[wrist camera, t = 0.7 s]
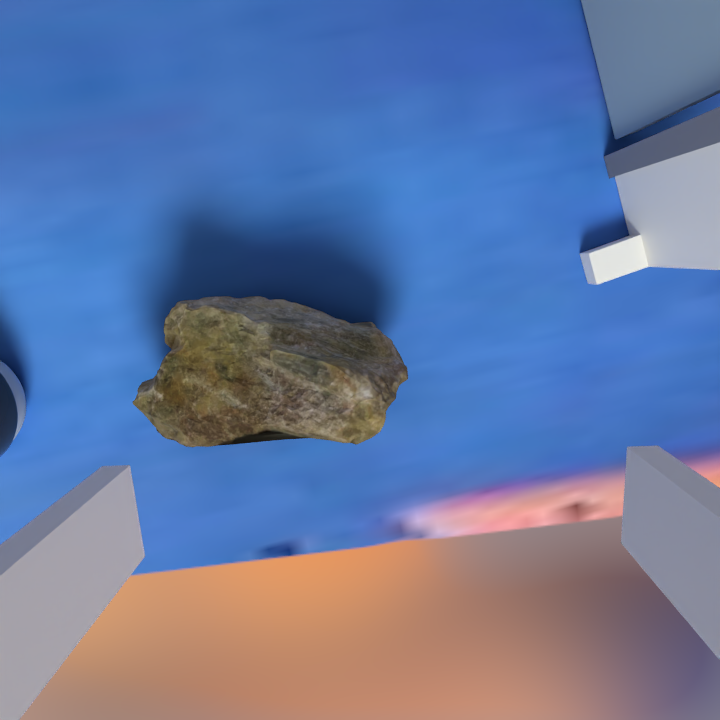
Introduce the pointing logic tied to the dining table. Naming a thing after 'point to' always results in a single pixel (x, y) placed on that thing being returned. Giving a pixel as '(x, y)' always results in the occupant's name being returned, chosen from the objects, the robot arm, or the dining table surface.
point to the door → (654, 57)
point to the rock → (269, 374)
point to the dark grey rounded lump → (10, 407)
